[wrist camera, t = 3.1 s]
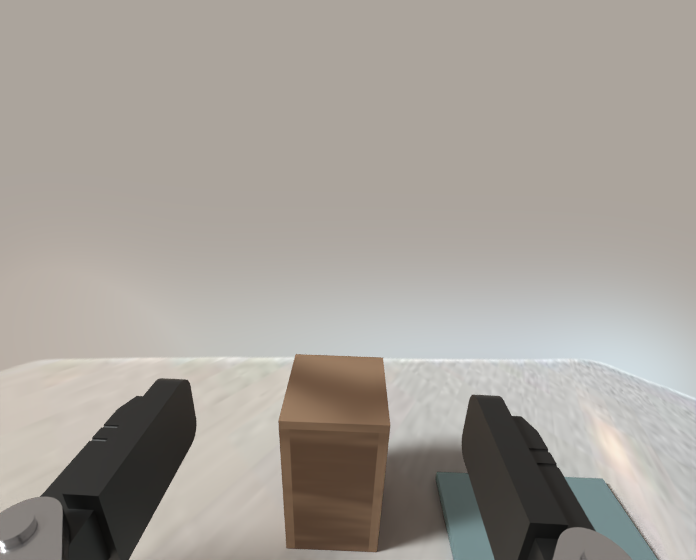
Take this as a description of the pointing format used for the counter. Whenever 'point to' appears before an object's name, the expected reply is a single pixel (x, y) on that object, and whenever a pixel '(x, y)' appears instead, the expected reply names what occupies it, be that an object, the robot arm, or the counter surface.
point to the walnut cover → (334, 452)
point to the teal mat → (590, 492)
